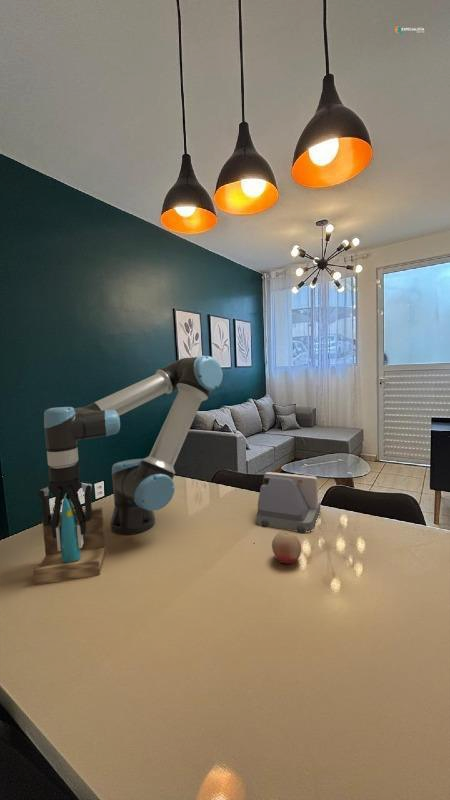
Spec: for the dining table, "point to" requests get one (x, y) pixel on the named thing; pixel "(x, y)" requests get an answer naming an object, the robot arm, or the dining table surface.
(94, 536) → the brown piece
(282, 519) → the instant camera
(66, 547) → the tube
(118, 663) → the dining table surface
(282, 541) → the fruit
